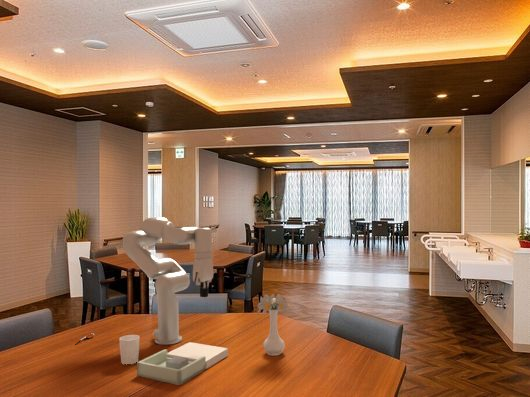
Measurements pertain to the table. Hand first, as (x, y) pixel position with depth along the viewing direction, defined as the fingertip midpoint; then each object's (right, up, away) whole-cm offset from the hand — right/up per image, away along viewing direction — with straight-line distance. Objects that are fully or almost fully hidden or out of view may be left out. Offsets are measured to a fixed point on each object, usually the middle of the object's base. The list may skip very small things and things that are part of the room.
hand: (204, 296), depth 189 cm
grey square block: (-7, -22, -25) cm, 34 cm away
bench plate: (-1, -23, -12) cm, 26 cm away
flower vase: (+31, -23, -7) cm, 39 cm away
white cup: (-28, -24, -15) cm, 40 cm away
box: (-8, -23, -27) cm, 36 cm away
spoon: (-60, -25, +11) cm, 66 cm away
